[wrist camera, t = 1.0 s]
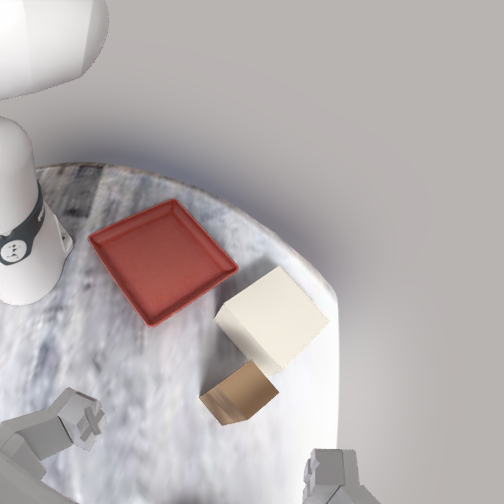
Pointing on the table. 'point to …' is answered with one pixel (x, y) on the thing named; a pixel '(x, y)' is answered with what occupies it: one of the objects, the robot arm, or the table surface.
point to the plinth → (271, 321)
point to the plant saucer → (161, 260)
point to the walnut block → (239, 395)
